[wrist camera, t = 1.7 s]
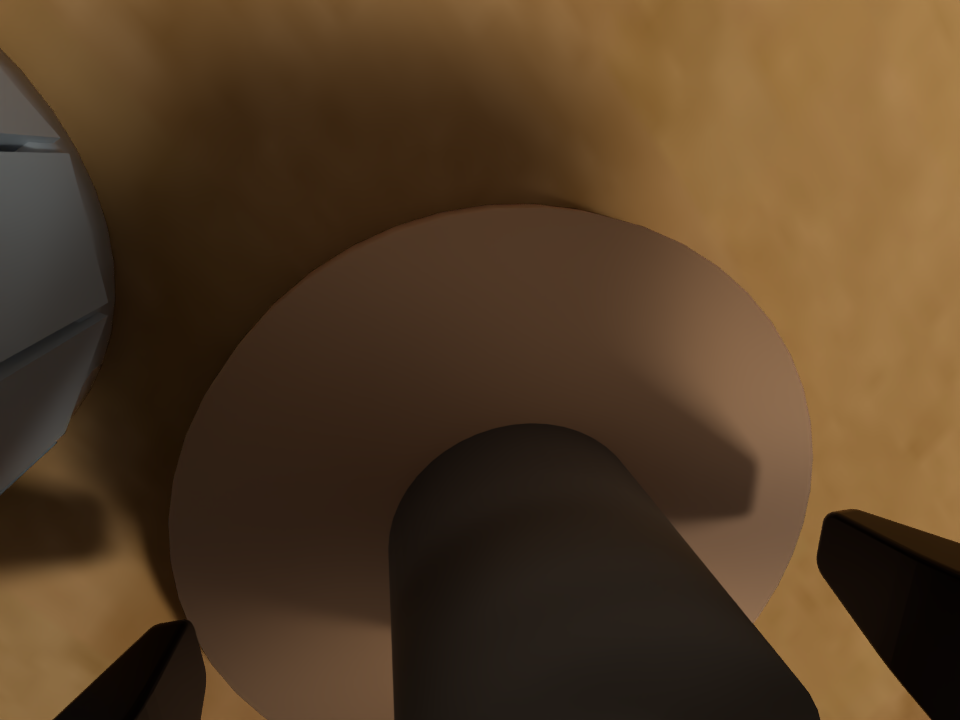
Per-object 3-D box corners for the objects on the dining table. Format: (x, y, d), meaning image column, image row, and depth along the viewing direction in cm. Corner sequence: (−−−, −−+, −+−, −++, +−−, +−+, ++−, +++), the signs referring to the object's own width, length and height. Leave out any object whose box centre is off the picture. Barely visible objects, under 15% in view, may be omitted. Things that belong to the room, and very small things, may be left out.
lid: (748, 667, 12) (976, 979, 8) (262, 771, 11) (177, 1229, 6) (805, 175, 9) (1285, 193, 4) (107, 237, 7) (-339, 366, 3)
